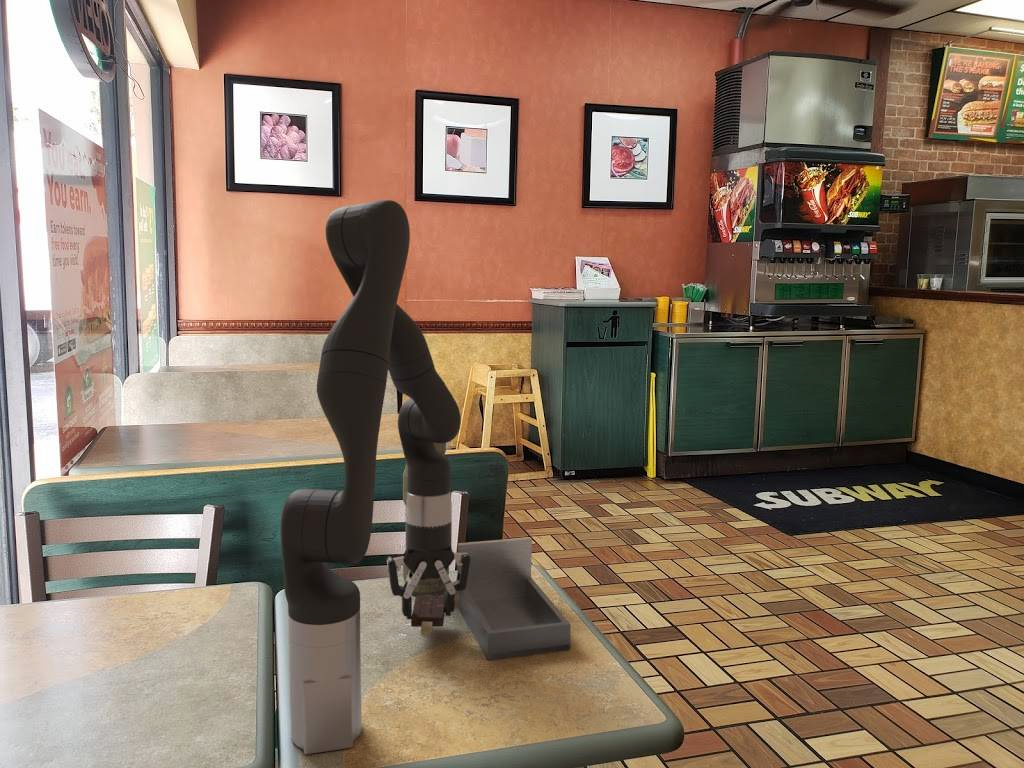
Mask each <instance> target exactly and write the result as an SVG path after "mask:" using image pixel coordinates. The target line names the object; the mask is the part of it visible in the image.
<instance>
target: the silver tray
mask: <svg viewBox="0 0 1024 768" xmlns="http://www.w3.org/2000/svg"><path fill="white" fill-rule="evenodd" d="M532 548H533V540H532V538H531V536H530V537H528V536H527V537H518V538H507V539H506V538H504V539H495V540H494V539H493V540H482V541H470V542H469V541H468V542H460V543H459V542H458V543H457V553H461V552H462V551H466V552H467V553H468V555H469V557H470V565H469V571H468V578H467V584H466V588H465V590H459V591H457V592H456V593H457V594H456V599H457V600H456V601H457V602H456V605H457V608H458V609H459V611H460V613H461V615H462V617H463V619H464V620H465V623H467V624H466V625H467V626H468V628H469V629H470V631H471V634H472V635H473V637H474V638H475V640H476V642H477V645H479V648H480V650H481V652H482V653H483V655H484V656H485V658H486V661H495V660H502V659H503V660H504V659H510V658H517V657H525V656H527V657H528V656H533V655H540V654H541V655H542V654H548V653H557V652H558V653H559V652H565V651H571V627H572V626H571V623H570V621H569V620H568V619H567V618H566V617H565V616H564V614H563V613H562V612H561V611H560V609H558V607H557V606H556V605H555V604H554V603H553V602H552V600H551V599H550V598H549V596H547V594H546V593H545V592H544V591H543V590H542V588H541V587H540V586H539V585H538V584H537V583H536V581H535V580H534V579H533V578H532V555H533V554H532V550H533V549H532ZM456 565H457V564H456ZM456 568H457V573H458V565H457V567H456Z"/></svg>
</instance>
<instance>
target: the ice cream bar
mask: <svg viewBox="0 0 1024 768" xmlns="http://www.w3.org/2000/svg"><path fill="white" fill-rule="evenodd" d="M412 607H413V608H412V618H411V619H410V626H411V627H412V628H413V627H415V628H418V627H420V636H421V637H430V636H432V631H433V627H435V628H436V627H437V628H439V627H444V623H445V615H446V614H445V612H444V596H441V595H440V596H438V595H434V596H432V595H418V596H415V599H414V603H413V606H412Z"/></svg>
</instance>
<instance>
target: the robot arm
mask: <svg viewBox="0 0 1024 768" xmlns="http://www.w3.org/2000/svg"><path fill="white" fill-rule="evenodd" d="M410 231H411V230H410V223H409V218H408V215H407V213H406V211H405V209H404V208H403V206H402V205H401V204H400V203H399V202H397V201H394V200H392V199H383V200H380V199H379V200H373V201H369V202H363V203H359V204H358V203H357V204H352V205H347V206H342V207H339V208H337V209H334V210H333V211H332V212H331V213H330V214H329V216H328V217H327V219H326V223H325V239H326V244H327V246H328V250H329V252H330V254H331V257H332V259H333V261H334V263H335V265H336V268H337V269H338V272H339V273H340V275H341V276H342V279H343V280H344V282H345V284H346V286H347V287H348V289H349V291H350V293H351V295H352V299H351V301H350V302H349V304H348V305H347V307H346V308H345V309H344V311H342V313H341V314H340V316H339V317H338V319H337V320H336V321H335V323H334V324H333V326H332V327H331V329H330V331H329V333H328V334H327V336H326V338H325V340H324V342H323V346H322V350H321V355H320V361H319V366H318V367H319V368H318V372H317V373H318V374H317V381H316V394H317V398H318V401H319V404H320V407H321V409H322V411H323V414H324V416H325V418H326V420H327V421H328V424H329V426H330V428H331V430H332V431H333V433H334V436H335V438H336V440H337V442H338V445H339V448H340V450H341V454H342V457H343V462H344V463H343V464H344V486H343V490H334V489H319V488H318V489H317V488H315V489H313V488H301V489H300V488H299V489H296V490H293V491H292V492H291V493H290V494H289V495H288V496H287V498H286V500H285V502H284V505H283V508H282V513H281V518H280V519H281V520H280V545H281V555H282V556H281V557H282V566H283V583H284V584H283V585H284V596H285V598H286V602H287V603H286V604H287V617H288V620H287V621H288V622H287V623H288V628H287V630H288V668H289V669H288V671H289V710H290V738H291V741H292V743H293V744H294V745H295V746H296V747H298V748H300V749H302V750H303V754H304V755H310V754H316V753H323V752H329V751H332V752H333V751H338V750H343V749H351V748H353V747H354V742H355V741H356V740H357V739H358V738H359V737H360V735H361V732H362V726H363V725H362V724H363V723H362V719H363V718H362V665H361V664H362V663H361V662H362V661H361V659H362V657H361V652H362V651H361V649H362V648H361V592H360V588H359V587H358V585H357V584H356V583H355V582H354V581H352V580H351V579H349V578H347V577H345V576H342V575H340V574H338V573H337V572H335V571H334V570H333V569H331V568H330V567H329V566H327V565H326V564H328V563H329V564H341V565H342V564H343V565H344V564H345V565H346V564H347V565H354V564H358V563H360V562H361V561H362V560H363V559H364V558H365V556H366V553H367V551H368V549H369V545H370V540H371V535H372V528H373V519H374V518H373V517H374V503H375V502H374V501H375V499H374V498H375V484H376V483H375V482H376V468H377V467H376V465H377V453H378V452H377V451H378V442H379V434H380V428H381V421H382V420H381V419H382V413H383V408H384V407H383V406H384V400H385V394H386V389H387V381H388V373H389V376H390V378H391V381H392V383H393V385H394V388H395V389H396V390H397V391H398V393H399V392H400V393H401V394H403V395H405V396H407V397H408V398H407V399H406V400H405V401H404V402H403V404H402V405H401V407H400V410H399V411H398V417H397V429H398V430H397V431H398V433H399V440H400V442H401V446H402V451H403V456H404V460H405V464H406V463H407V467H408V492H407V501H406V512H405V514H404V516H405V517H406V519H405V550H404V553H403V554H402V555H401V556H397V557H393V556H391V555H390V556H388V557H387V558H386V565H387V567H386V568H387V572H388V578H389V579H388V581H389V585H390V591H391V592H392V595H393V596H394V597H397V596H398V597H400V598H401V612H402V615H403V617H405V618H406V620H411V618H412V613H413V608H412V607H413V604H412V603H413V598H412V595H411V594H412V592H413V590H414V588H415V587H416V586H417V584H418V582H419V580H426V579H429V578H432V579H439V577H441V579H442V581H443V583H444V585H445V587H446V591H444V592H443V594H444V596H443V597H444V612H445V614H444V615H445V616H446V617H450V616H452V613H454V610H455V609H456V608H455V603H456V602H455V595H456V593H457V591H459V590H465V588H466V584H467V578H468V571H469V565H470V557H469V555H468V553H467V552H466V551H462V552H461V553H458V552H454V551H453V547H452V543H453V542H452V537H453V534H452V530H453V528H452V527H453V523H452V522H453V521H452V520H453V518H452V517H453V516H452V515H453V503H452V496H451V476H452V475H451V472H452V471H451V470H452V469H451V462H450V460H449V458H448V457H446V455H445V456H443V455H441V454H440V453H439V452H437V450H436V449H435V446H434V443H446V444H448V443H449V442H451V441H454V439H456V437H457V436H458V434H459V432H460V428H461V423H462V417H461V412H460V408H459V406H458V403H457V401H456V400H455V397H454V396H453V395H452V393H451V391H450V390H449V388H448V387H447V385H446V383H445V382H444V380H443V379H442V378H441V376H440V374H439V373H438V372H437V370H436V368H435V364H434V361H433V358H432V354H431V352H430V349H429V346H428V342H427V340H426V337H425V335H424V333H423V332H422V330H421V329H420V327H419V326H418V324H417V323H416V322H415V321H414V319H413V318H412V317H411V316H410V315H409V314H408V313H407V312H406V311H405V310H404V309H403V308H402V307H401V306H400V305H399V304H398V300H399V299H398V298H399V294H400V290H401V286H402V281H403V278H404V274H405V269H406V265H407V261H408V256H409V255H408V254H409V251H410V250H409V249H410V241H411V232H410ZM454 560H455V563H456V565H458V573H457V574H456V580H455V581H452V580H451V579H450V576H448V574H447V572H446V570H447V568H448V567H449V568H450V566H451V564H452V563H453V562H454ZM403 563H405V565H406V566H407V567H408V568H409V570H410V571H409V573H408V575H407V577H406V581H405V583H404V582H403V585H400V584H399V577H398V572H399V571H401V568H402V566H403Z"/></svg>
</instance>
